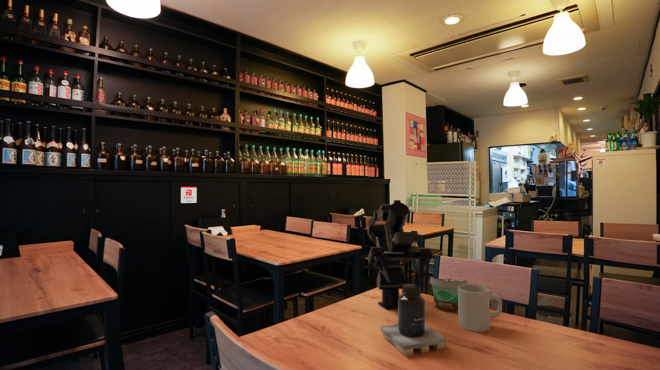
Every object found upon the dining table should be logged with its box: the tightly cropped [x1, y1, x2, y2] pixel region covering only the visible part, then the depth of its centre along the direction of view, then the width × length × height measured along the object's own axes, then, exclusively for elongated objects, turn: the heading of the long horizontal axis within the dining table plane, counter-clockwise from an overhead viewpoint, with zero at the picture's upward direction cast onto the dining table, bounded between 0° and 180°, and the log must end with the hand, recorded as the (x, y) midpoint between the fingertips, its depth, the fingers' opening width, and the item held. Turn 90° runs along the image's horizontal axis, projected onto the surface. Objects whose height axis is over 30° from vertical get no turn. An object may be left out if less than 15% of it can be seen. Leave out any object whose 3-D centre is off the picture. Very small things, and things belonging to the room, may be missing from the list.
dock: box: [380, 323, 447, 357], centre depth 87 cm, size 12×12×2 cm
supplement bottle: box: [397, 283, 426, 337], centre depth 88 cm, size 7×7×12 cm
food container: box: [429, 275, 469, 313], centre depth 110 cm, size 12×6×10 cm, turn 68°
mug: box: [457, 283, 503, 333], centre depth 97 cm, size 12×8×11 cm
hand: (405, 281), depth 95 cm, fingers open, 9 cm apart
